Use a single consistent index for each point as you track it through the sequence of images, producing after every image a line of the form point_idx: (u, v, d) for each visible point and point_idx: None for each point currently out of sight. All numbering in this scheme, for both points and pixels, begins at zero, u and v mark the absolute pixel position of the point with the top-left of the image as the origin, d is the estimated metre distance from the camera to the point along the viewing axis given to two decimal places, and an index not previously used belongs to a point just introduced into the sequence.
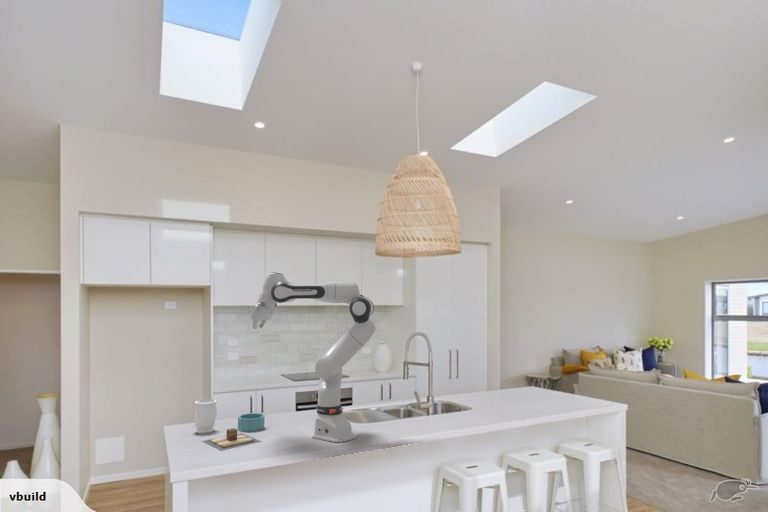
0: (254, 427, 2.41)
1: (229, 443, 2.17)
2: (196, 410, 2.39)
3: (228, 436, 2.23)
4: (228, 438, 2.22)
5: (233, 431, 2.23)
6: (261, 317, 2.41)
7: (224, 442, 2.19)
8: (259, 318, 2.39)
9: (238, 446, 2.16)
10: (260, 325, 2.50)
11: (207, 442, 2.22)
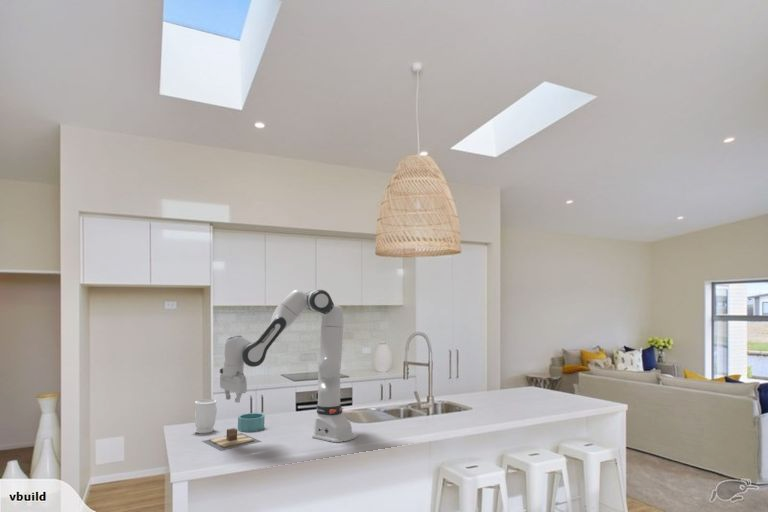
0: (254, 427, 2.41)
1: (229, 443, 2.17)
2: (196, 410, 2.39)
3: (228, 436, 2.23)
4: (228, 438, 2.22)
5: (233, 431, 2.23)
6: None
7: (224, 442, 2.19)
8: None
9: (238, 446, 2.16)
10: (228, 397, 2.28)
11: (207, 442, 2.22)
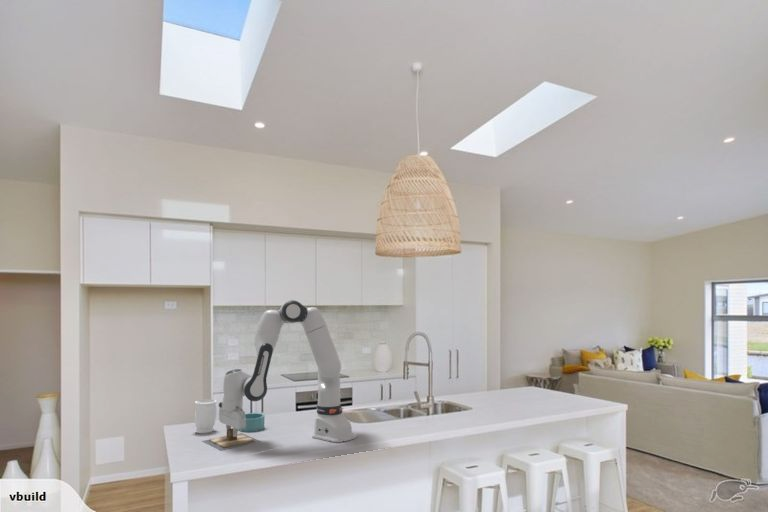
0: (254, 427, 2.41)
1: (229, 443, 2.17)
2: (196, 410, 2.39)
3: (228, 436, 2.23)
4: (228, 438, 2.22)
5: None
6: None
7: (224, 442, 2.19)
8: None
9: (238, 446, 2.16)
10: None
11: (207, 442, 2.22)
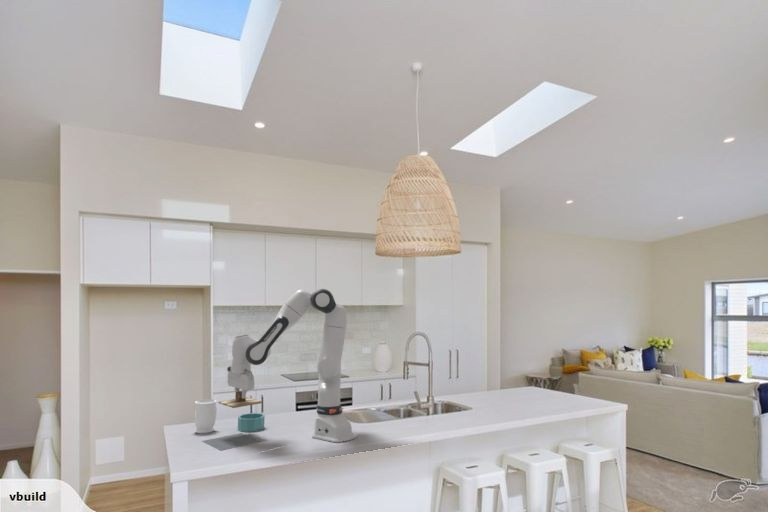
0: (254, 427, 2.41)
1: (238, 404, 2.27)
2: (196, 410, 2.39)
3: (237, 398, 2.32)
4: (237, 400, 2.32)
5: None
6: None
7: (233, 403, 2.29)
8: None
9: (238, 446, 2.16)
10: None
11: (207, 442, 2.22)
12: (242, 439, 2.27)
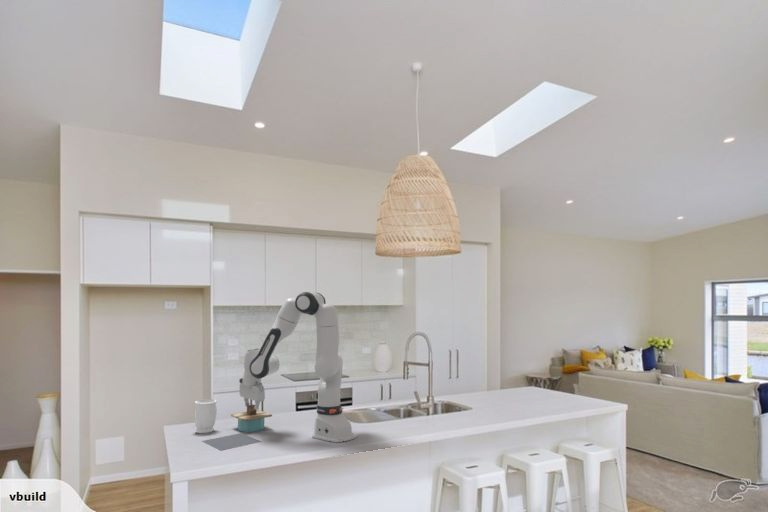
0: (254, 427, 2.41)
1: (250, 417, 2.41)
2: (196, 410, 2.39)
3: (248, 411, 2.46)
4: (248, 413, 2.46)
5: (253, 407, 2.46)
6: None
7: (245, 416, 2.43)
8: None
9: (238, 446, 2.16)
10: (247, 404, 2.51)
11: (207, 442, 2.22)
12: (242, 439, 2.27)
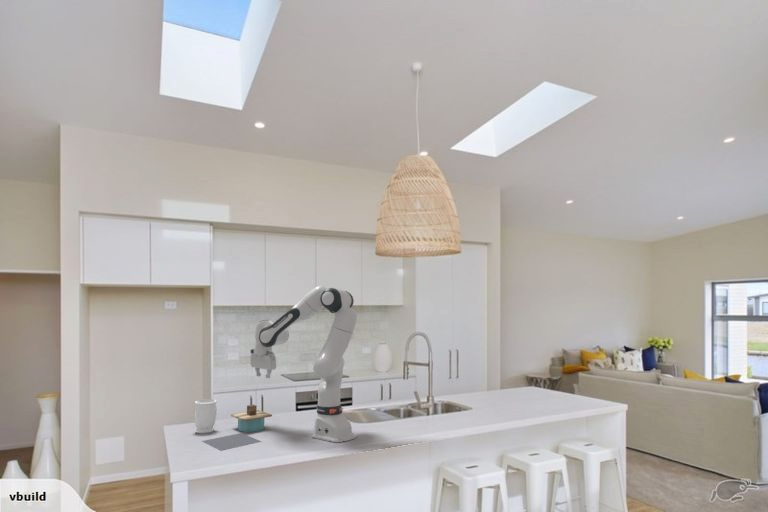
0: (254, 427, 2.41)
1: (250, 417, 2.41)
2: (196, 410, 2.39)
3: (248, 411, 2.46)
4: (248, 413, 2.46)
5: (253, 407, 2.46)
6: None
7: (245, 416, 2.43)
8: None
9: (238, 446, 2.16)
10: (258, 374, 2.58)
11: (207, 442, 2.22)
12: (242, 439, 2.27)
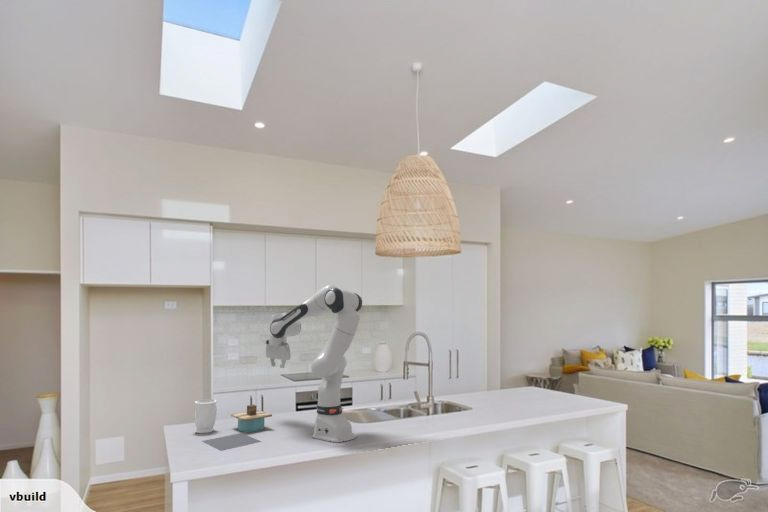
0: (254, 427, 2.41)
1: (250, 417, 2.41)
2: (196, 410, 2.40)
3: (248, 411, 2.46)
4: (248, 413, 2.46)
5: (253, 407, 2.46)
6: None
7: (245, 416, 2.43)
8: None
9: (238, 446, 2.16)
10: (273, 364, 2.68)
11: (207, 442, 2.22)
12: (242, 439, 2.27)
